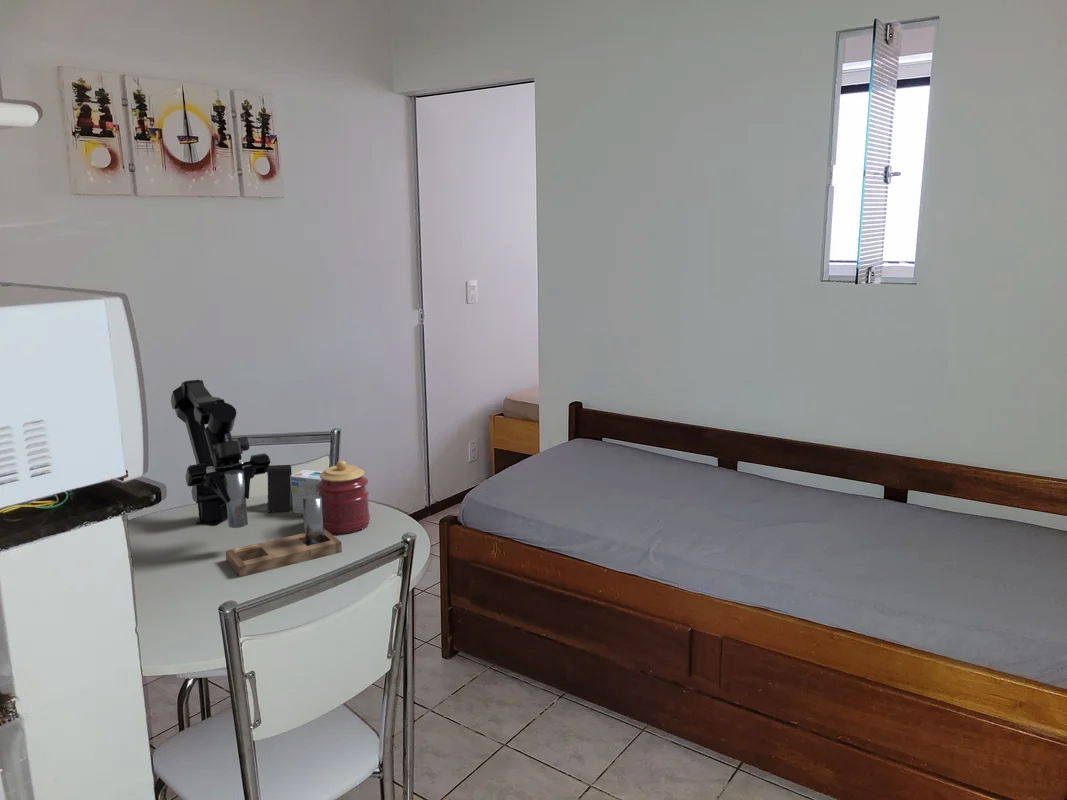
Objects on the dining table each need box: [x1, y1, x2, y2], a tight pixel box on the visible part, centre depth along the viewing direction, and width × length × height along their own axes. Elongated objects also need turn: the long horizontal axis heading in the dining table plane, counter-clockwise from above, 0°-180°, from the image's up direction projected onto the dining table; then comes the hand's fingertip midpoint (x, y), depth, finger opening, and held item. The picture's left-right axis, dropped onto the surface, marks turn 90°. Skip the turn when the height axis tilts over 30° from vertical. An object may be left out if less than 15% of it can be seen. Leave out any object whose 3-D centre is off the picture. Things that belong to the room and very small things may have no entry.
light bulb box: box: [290, 469, 323, 515], centre depth 217 cm, size 11×7×11 cm, turn 71°
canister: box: [317, 460, 371, 535], centre depth 206 cm, size 13×13×18 cm
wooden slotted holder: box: [225, 529, 343, 578], centre depth 188 cm, size 24×11×3 cm, turn 126°
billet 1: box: [224, 470, 249, 529], centre depth 189 cm, size 4×4×13 cm
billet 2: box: [303, 495, 324, 546], centre depth 191 cm, size 4×4×13 cm
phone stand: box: [266, 464, 293, 513], centre depth 221 cm, size 9×6×12 cm, turn 7°
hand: (237, 500), depth 187 cm, fingers closed on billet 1, 4 cm apart
